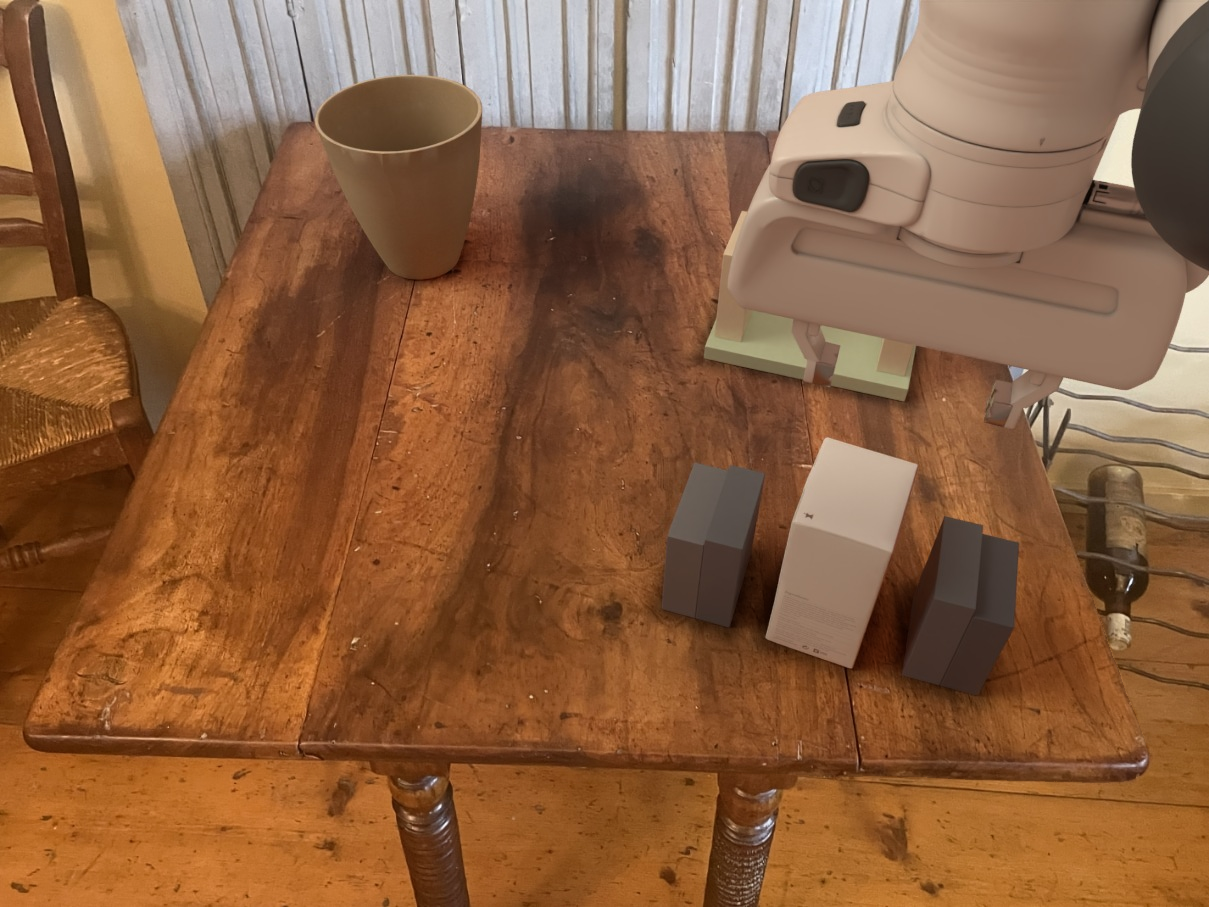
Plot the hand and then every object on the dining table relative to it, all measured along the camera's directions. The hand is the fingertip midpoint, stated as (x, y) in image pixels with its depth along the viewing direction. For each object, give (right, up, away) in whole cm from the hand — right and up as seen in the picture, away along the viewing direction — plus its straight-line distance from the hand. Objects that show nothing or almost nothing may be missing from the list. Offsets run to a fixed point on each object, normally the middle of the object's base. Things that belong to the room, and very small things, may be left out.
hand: (906, 397), depth 52 cm
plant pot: (-34, +17, +48) cm, 62 cm away
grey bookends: (0, -14, +18) cm, 23 cm away
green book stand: (+3, +7, +39) cm, 39 cm away
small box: (0, -14, +18) cm, 23 cm away
